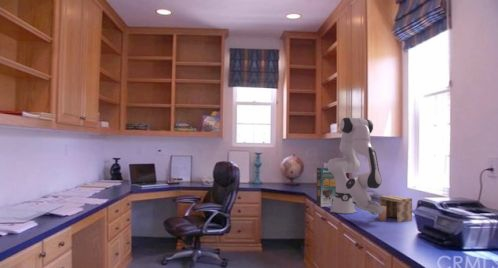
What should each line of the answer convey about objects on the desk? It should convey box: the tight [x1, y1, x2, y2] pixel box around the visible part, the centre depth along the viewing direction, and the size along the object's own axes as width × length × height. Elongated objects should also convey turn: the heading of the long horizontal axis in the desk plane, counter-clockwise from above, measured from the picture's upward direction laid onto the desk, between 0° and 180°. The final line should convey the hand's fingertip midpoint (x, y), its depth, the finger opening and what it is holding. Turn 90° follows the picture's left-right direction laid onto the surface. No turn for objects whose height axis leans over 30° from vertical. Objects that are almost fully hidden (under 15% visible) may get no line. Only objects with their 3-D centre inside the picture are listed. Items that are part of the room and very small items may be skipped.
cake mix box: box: [316, 167, 336, 208], centre depth 302 cm, size 22×6×30 cm, turn 111°
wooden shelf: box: [379, 195, 413, 223], centre depth 251 cm, size 12×16×14 cm
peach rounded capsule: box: [377, 206, 387, 222], centre depth 246 cm, size 5×5×9 cm
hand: (374, 214), depth 243 cm, fingers closed
